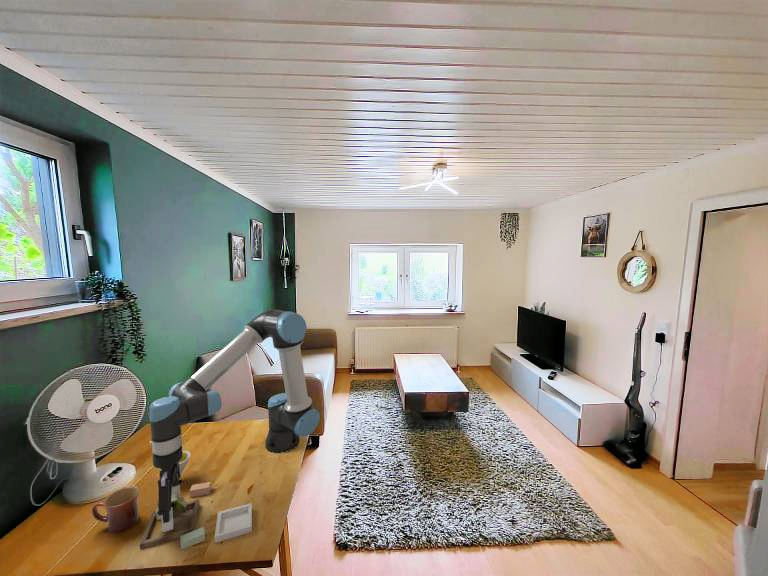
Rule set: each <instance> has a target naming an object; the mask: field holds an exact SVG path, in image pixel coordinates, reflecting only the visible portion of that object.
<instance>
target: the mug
mask: <svg viewBox="0 0 768 576" xmlns="http://www.w3.org/2000/svg"><path fill="white" fill-rule="evenodd" d="M140 491H141V489H140V488H139V486H126V487H123V488H120V489H117V490H115V491H114V492H112V493H110V494H109V495H107V497H106V498H105V499H104V500H100V501H98V502H96V503H94V505H93V506H92V508H91V513H92V516H93V518H94V519H95V520H96V521H99V522H102V523H107V529H108V531H109V533H112V534H119V533H122V532H125V531H127V530H130V529H132V528H133V527H134V526H135V525H136V524H137V523H138V521H139V515H140V512H139V510H140V509H139V505H138V504H139V503H138V500H139V495H140ZM98 507H103V508H104V509H105V510H106V514H107V515H101V514H100V513H99V511H98Z"/></svg>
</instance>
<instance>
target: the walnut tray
mask: <svg viewBox="0 0 768 576" xmlns="http://www.w3.org/2000/svg"><path fill="white" fill-rule="evenodd" d="M186 502H187V506H186V509H187V510H189V512H188V513H181V514H180V515H178V516H177V517H176V518H174V519H173V525H174V528H173V529H175V530H177V531H174V532H170V533H167V534H163V535H160V536H156V537H153V538H149V536H150V535H151V532H152V529H153V527H154V524H155V521H157V522H159V521H158V520H157V519H156V518H155V517H154V514H155V511H156V510H157V509H155V510H153V511H152V512H151V514H150V518H149V520H148V523H147V525H146V527H145V530H144V533H143V535H142V538H141V540H140V543H139V549H141V550H142V549H145V548H148V547H152V546H155V545H156V546H157V545H159V544H163V543H167V542H171V541H174V540H179V539H181V536H182V535H185V534H187V533H190V532H192V531H195V527H196V526H195V525H196V522H197V517H198V513H199V508H200V499H195V500H194V499H193V500H190V501H186ZM148 538H149V539H148Z"/></svg>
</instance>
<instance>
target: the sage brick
mask: <svg viewBox="0 0 768 576" xmlns="http://www.w3.org/2000/svg"><path fill="white" fill-rule="evenodd" d="M203 541H206V532H205V526H202V527H200V528H198V529H194V531H192V532H190V533H187V534H185V535H182V536H181V538H180V550H183V549H186V548H189V547H191V546H193V545H196V544H198V543H201V542H203Z"/></svg>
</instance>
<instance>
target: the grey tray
mask: <svg viewBox="0 0 768 576" xmlns="http://www.w3.org/2000/svg"><path fill="white" fill-rule="evenodd" d="M252 524H253V504H252V502H251V503H247V504H243V505H239V506H235V507H233V508H227V509H225V510H221V511H217V517H216V524H215V531H214V532H215V533H214V543H216V544H217V543H219V542H223V541H226V540H229V539H234V538H239V537H241V536H244V534H245V535H248V534H250V533H249V532H252V531H253V528H252V527H253V525H252ZM247 533H248V534H247ZM252 533H253V532H252Z"/></svg>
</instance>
